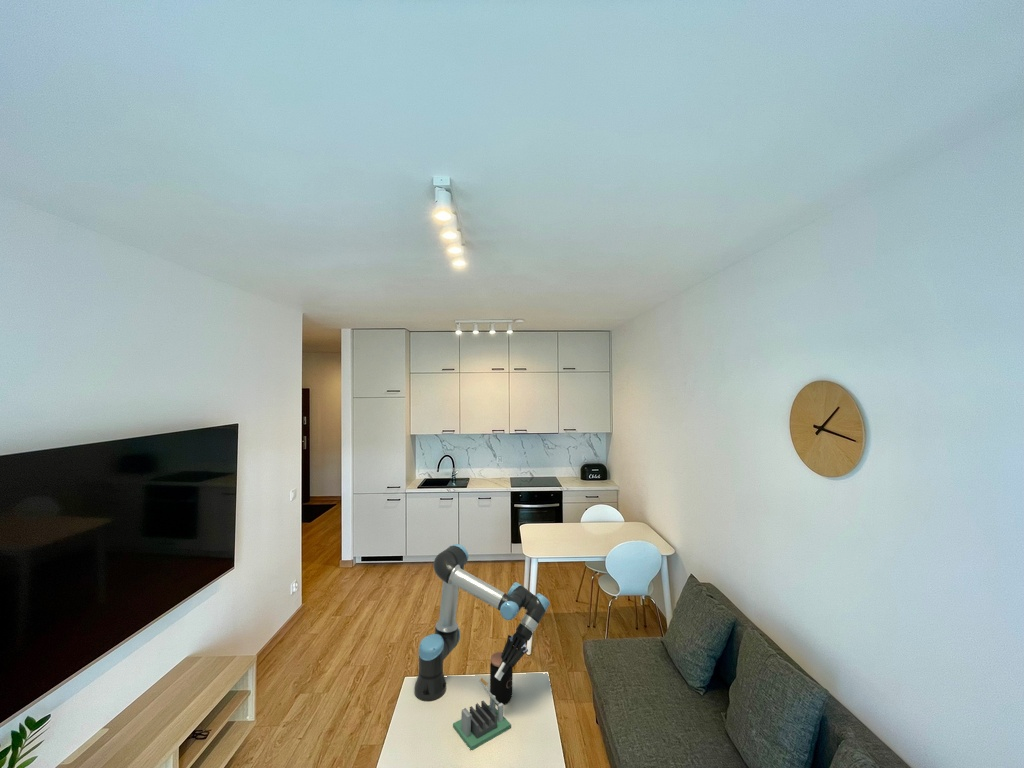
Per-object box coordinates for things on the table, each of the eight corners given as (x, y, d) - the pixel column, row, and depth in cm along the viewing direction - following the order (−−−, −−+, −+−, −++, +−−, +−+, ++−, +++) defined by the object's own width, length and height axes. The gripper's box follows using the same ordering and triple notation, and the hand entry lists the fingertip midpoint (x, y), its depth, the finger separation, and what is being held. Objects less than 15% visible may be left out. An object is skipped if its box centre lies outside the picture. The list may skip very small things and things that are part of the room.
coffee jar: (509, 707, 188) (510, 667, 189) (487, 703, 190) (487, 663, 191) (514, 691, 198) (514, 653, 199) (492, 688, 200) (493, 650, 201)
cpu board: (452, 727, 176) (453, 704, 177) (491, 707, 188) (492, 685, 189) (470, 750, 164) (471, 726, 165) (511, 728, 176) (511, 705, 176)
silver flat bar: (478, 681, 178) (481, 677, 179) (493, 702, 182) (497, 697, 183) (483, 687, 175) (486, 682, 176) (498, 707, 179) (502, 703, 180)
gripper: (540, 638, 188) (510, 690, 177) (522, 625, 198) (493, 674, 187) (531, 629, 185) (500, 682, 174) (513, 617, 195) (484, 667, 184)
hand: (497, 678), depth 181 cm, fingers closed
